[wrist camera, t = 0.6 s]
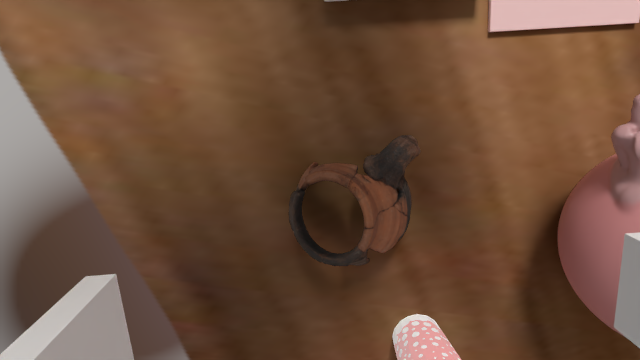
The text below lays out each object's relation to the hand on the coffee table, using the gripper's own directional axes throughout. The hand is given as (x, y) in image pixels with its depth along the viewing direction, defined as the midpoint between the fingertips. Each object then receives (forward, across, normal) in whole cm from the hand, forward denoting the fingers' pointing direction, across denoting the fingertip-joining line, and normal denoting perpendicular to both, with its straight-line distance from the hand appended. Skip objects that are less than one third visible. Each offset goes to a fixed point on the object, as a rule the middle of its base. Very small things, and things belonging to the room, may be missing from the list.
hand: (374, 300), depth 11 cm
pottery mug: (+25, +3, -4) cm, 26 cm away
